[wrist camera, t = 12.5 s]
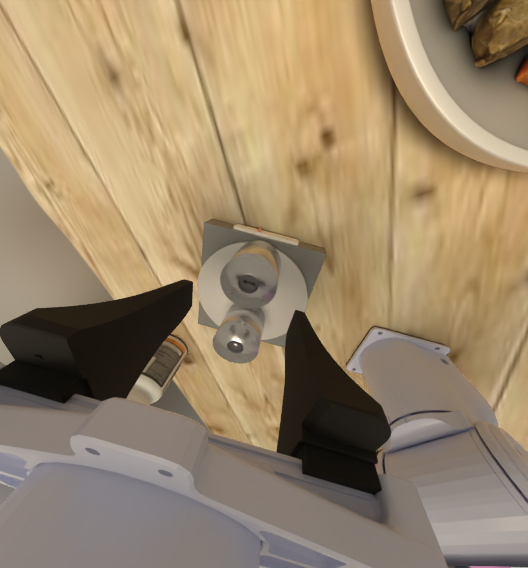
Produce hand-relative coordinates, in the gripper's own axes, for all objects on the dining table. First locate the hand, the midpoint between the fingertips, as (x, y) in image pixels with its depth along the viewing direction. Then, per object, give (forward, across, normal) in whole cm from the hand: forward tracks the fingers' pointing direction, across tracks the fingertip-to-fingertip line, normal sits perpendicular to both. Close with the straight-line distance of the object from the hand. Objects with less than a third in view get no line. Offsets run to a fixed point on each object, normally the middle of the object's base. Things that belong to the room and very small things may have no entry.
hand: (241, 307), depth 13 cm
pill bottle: (+10, +11, +18) cm, 24 cm away
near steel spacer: (+6, 0, -1) cm, 6 cm away
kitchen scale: (+9, 0, +4) cm, 10 cm away
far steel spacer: (+6, 0, +6) cm, 9 cm away
